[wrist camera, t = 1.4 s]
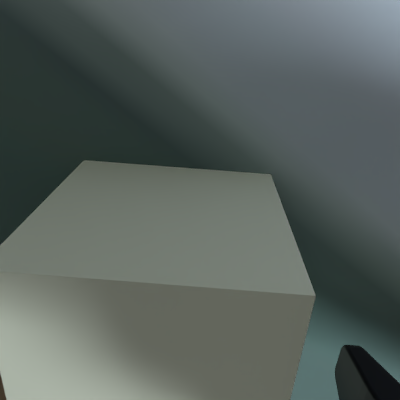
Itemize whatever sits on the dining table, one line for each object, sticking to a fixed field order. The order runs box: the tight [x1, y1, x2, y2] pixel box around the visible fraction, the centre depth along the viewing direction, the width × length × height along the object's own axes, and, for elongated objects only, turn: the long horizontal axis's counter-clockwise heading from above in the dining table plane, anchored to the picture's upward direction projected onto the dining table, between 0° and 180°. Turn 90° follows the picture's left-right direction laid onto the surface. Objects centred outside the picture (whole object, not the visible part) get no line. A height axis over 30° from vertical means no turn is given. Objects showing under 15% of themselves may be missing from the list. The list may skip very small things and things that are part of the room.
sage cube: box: [0, 160, 316, 400], centre depth 11 cm, size 6×6×6 cm
